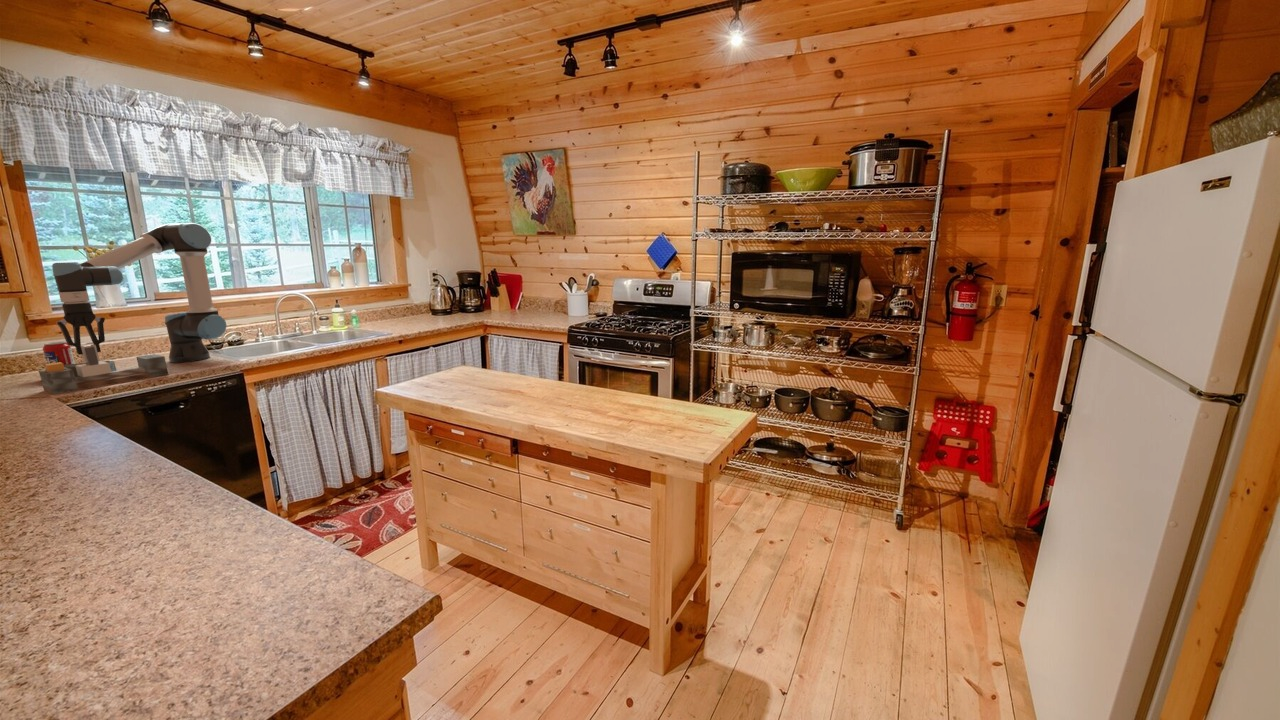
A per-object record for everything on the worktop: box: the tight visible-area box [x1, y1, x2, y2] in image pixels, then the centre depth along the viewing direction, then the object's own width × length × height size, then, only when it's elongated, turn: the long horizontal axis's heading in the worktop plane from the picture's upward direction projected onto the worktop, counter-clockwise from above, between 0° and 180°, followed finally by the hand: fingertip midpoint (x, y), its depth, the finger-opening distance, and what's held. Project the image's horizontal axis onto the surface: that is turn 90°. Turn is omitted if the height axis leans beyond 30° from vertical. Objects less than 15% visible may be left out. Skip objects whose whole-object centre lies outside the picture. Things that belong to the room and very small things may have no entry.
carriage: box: [76, 345, 112, 377], centre depth 202 cm, size 8×7×11 cm
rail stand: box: [38, 353, 169, 396], centre depth 206 cm, size 34×11×8 cm, turn 150°
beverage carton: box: [44, 360, 117, 377], centre depth 215 cm, size 8×19×7 cm, turn 118°
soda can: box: [42, 341, 76, 365], centre depth 217 cm, size 8×8×15 cm
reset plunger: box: [44, 362, 65, 372], centre depth 194 cm, size 4×4×4 cm
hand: (91, 361), depth 202 cm, fingers closed on carriage, 2 cm apart
